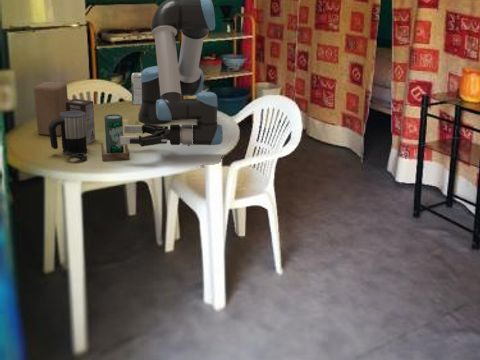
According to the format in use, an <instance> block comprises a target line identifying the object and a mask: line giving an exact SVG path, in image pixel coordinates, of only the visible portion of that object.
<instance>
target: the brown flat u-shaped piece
mask: <svg viewBox="0 0 480 360" xmlns="http://www.w3.org/2000/svg"><path fill="white" fill-rule="evenodd" d="M100 146H101V147H100V148H101V158H102V159H101V160H102V162H110V161H113V162H114V161H129V160H130V151H129V147H128V144H124V153H105V148H104V147H105V146H104V142H100Z"/></svg>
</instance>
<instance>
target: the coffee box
mask: <svg viewBox="0 0 480 360" xmlns="http://www.w3.org/2000/svg"><path fill="white" fill-rule="evenodd" d="M66 111H82V112H85V113H86V114H85V128H86V144H87V145H88V144H91V143H92V142H94V141H96V128H95V125H96V124H95V113H94V112H95V110H94V101H93V100H89V99H88V100H87V99H80V98H72V99H70V100H68V101H67V102H66Z"/></svg>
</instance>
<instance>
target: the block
mask: <svg viewBox="0 0 480 360" xmlns="http://www.w3.org/2000/svg"><path fill="white" fill-rule="evenodd" d="M33 95H34V104H35V116H36V117H35V118H36V126H37V133H38V135H44V136H50V135H49V124H50V123H51V121H53V120H54V119H59V118H61V115H60V113H62V112H66V102H67V101H69V100H68V97H69V96H68V87H67V83H65V82H55V81H45V82H42V83H39V84H37V85H35V86H34V87H33ZM56 135H57V137H60V136H61V125H58V126H57V127H56Z"/></svg>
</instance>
